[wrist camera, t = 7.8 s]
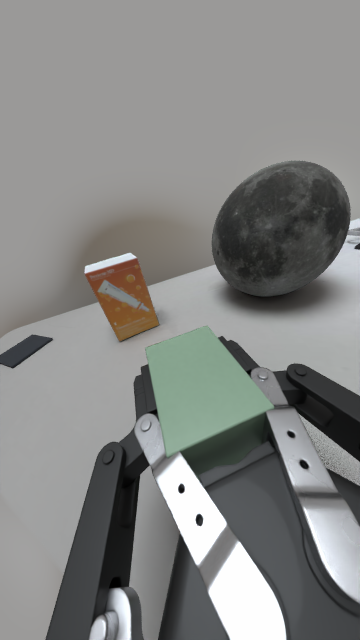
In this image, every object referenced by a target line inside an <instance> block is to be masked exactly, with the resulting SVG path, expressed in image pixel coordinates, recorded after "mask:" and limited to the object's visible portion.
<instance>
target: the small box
mask: <svg viewBox="0 0 360 640" xmlns="http://www.w3.org/2000/svg"><path fill="white" fill-rule="evenodd" d="M84 274H85V276H86V278H87V280H88V282H89V284H90V286H91V288H92V290H93V292H94V294H95V296H96V298H97V300H98V302H99V304H100V305H101V307H102V309H103V311H104V313H105V315H106V317H107V319H108V321H109V323H110V325H111V327H112V329H113V330H114V332H115V334H116V336H117V338H118V340H119V341H122V340H124V339H126V338H129V337H131V336H133V335H136V334H138V333H140V332H143V331H145V330H148V329H150V328H152V327H155V326H158V325H159V322H158V319H157V316H156V313H155V310H154V307H153V304H152V301H151V298H150V294H149V291H148V288H147V285H146V282H145V279H144V276H143V273H142V270H141V267H140V264H139V261H138V258H137V257H136V256H134V255H133V254H132V253H128V254H125V255H121V256H118V257H114V258H110V259H107V260H104V261H101V262H98V263H95V264H91V265H88V266H86V267H85V273H84Z"/></svg>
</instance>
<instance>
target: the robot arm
mask: <svg viewBox="0 0 360 640" xmlns="http://www.w3.org/2000/svg"><path fill="white" fill-rule="evenodd" d="M218 339H219V340H220V342H221V343H222V344H223V345H224V346H225V348H226V349H227V350H228V351H229V352H230V354H231V355H232V356H233V357H234V358H235V360H236V361H237V362H238V363H239V364H240V366H241V367H242V368H243V369H244V370H245V372H246V373H247V374H248V375H249V376H250V378H251V379H252V380H253V381H254V382H255V384H256V385H257V386H258V387H259V388H260V390H261V391H262V392H263V393H264V394H265V396H266V397H267V398H268V399H269V400H270V402H271V403H272V404H273V405H274V407H275V408H274V409H270V410H267V411H266V413H265V421H264V428H263V436H262V443H261V445H259V446H257V447H255V448H253V449H251V450H250V451H249V452H248V453H247V455H246V456H245V457H244V458H243V459H242V460H241V461H240V462H239V463H237V464H230V465H222V466H216V467H214V468H212V469H210V470H208V471H206V472H204V473H202V474H200V475H199V477H200V481H199V480H198V478H197V477H196V475H195V474H194V472H193V471H192V469H191V468H190V466H189V465H188V463H187V462H186V460H185V459H184V457H183V456H182V454H181V453H180V451H178V452H176V453H175V454H173V455H172V456H170V457H168V458H167V456H166V453H165V448H164V442H163V437H162V432H161V427H160V422H159V417H158V411H157V406H156V401H155V396H154V391H153V386H152V381H151V375H150V370H149V365H148V364H147V365H145V366H142V367H141V373H142V374H141V375H139V376H136V378H135V381H134V394H135V407H136V423H135V426H134V428H133V430H132V431H131V432H130V434H128V435H127V436H126V437H125V438H124V439H123V440H121V441H120V442H119V443H118V442H111V443H109V444H107V445H106V446H104V447H103V448H102V450H101V451H100V452H99V454H98V456H97V459H96V462H95V466H94V469H93V473H92V477H91V480H90V484H89V487H88V491H87V494H86V498H85V501H84V505H83V508H82V512H81V516H80V519H79V523H78V526H77V530H76V533H75V537H74V540H73V544H72V548H71V551H70V555H69V558H68V562H67V565H66V569H65V572H64V576H63V580H62V583H61V587H60V590H59V594H58V597H57V601H56V605H55V608H54V611H53V615H52V619H51V622H50V626H49V629H48V633H47V636H46V640H144V639H143V633H142V616H141V604H140V600H139V597H138V595H137V593H136V591H135V590H134V589H133V588H131V587H129V581H130V571H131V561H132V551H133V541H134V531H135V521H136V511H137V501H138V491H139V481H140V474H141V473H142V472H143V471H144V470H145V469H146V468H147V467H148V466H149V465H150V466H151V469H152V473H153V476H154V478H155V480H156V482H157V485H158V487H159V489H160V491H161V493H162V495H163V497H164V499H165V501H166V503H167V505H168V507H169V510H170V512H171V514H172V516H173V518H174V520H175V522H176V524H177V526H178V528H179V530H180V535H179V540H178V545H177V550H176V554H175V559H174V564H173V569H172V574H171V579H170V583H169V588H168V593H167V598H166V603H165V608H164V613H163V617H162V622H161V627H160V632H159V637H158V640H360V486H358V485H357V484H355V483H353V482H351V481H349V480H348V479H346V478H344V477H342V476H340V475H339V474H337V473H335V472H333V471H331V470H329V469H328V468H326V467H325V465H324V464H323V462H322V460H321V458H320V456H319V454H318V452H317V450H316V448H315V446H314V444H313V442H312V440H311V438H310V436H309V434H308V432H307V430H306V428H305V426H304V424H303V422H302V420H301V418H300V416H299V414H300V415H301V416H302V417H304V418H305V419H306V420H308V421H309V422H310V423H311V424H313V425H314V426H315V427H316V428H318V429H319V430H320V431H321V432H323V433H324V434H325V435H327V436H328V437H329V438H330V439H332V440H333V441H334V442H335V443H337V444H338V445H339V446H340V447H342V448H343V449H344V450H346V451H347V452H348V453H349V454H351V455H352V456H353V457H354V458H356V459H357V460H358V461H359V462H360V396H359V395H357V394H355V393H353V392H352V391H350V390H348V389H346V388H345V387H343V386H341V385H339V384H337V383H336V382H334V381H332V380H330V379H329V378H327V377H325V376H323V375H321V374H320V373H318V372H316V371H314V370H313V369H311V368H309V367H307V366H305V365H302V364H291V365H289V366H288V368H287V371H276V372H272V371H270V370H269V369H267V368H263V367H260V366H258V364H257V363H256V362H255V361H254V360H253V359H252V358H251V357H250V356H249V355H248V354H247V353H246V352H245V351H244V350H243V349H242V348H241V347H240V346H239V345H238V344H237V343H236V342H234V341H232V340H230V341H227V340H226V339H225V338H224V337H223V336H221V337H218ZM298 413H299V414H298Z"/></svg>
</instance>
